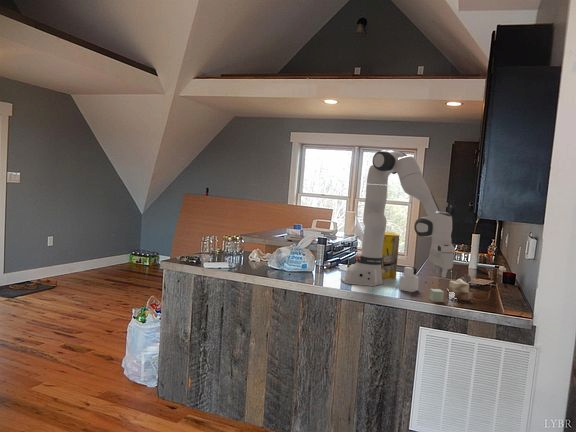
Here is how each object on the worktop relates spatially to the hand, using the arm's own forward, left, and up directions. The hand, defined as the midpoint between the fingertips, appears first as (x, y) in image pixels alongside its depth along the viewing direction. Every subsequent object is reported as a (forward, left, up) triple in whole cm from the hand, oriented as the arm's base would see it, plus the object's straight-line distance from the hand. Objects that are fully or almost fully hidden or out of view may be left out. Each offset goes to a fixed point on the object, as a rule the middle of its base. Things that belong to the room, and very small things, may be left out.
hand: (439, 275), depth 223 cm
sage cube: (0, 0, -13) cm, 12 cm away
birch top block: (+13, +7, -9) cm, 18 cm away
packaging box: (-13, +54, -13) cm, 57 cm away
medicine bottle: (-7, +19, -13) cm, 24 cm away
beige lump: (+13, +7, -13) cm, 20 cm away
